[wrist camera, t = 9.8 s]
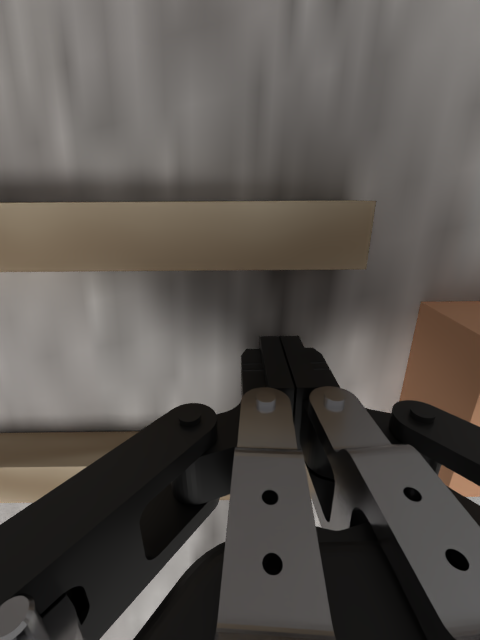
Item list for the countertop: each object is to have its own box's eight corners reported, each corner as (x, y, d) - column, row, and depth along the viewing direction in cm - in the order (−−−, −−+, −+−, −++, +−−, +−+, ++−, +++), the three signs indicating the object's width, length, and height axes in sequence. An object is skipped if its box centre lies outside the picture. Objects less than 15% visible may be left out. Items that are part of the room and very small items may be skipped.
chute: (-110, 202, 11) (-183, 204, 9) (352, 200, 11) (376, 201, 9) (-7, 465, 15) (-41, 503, 13) (321, 462, 15) (332, 498, 13)
